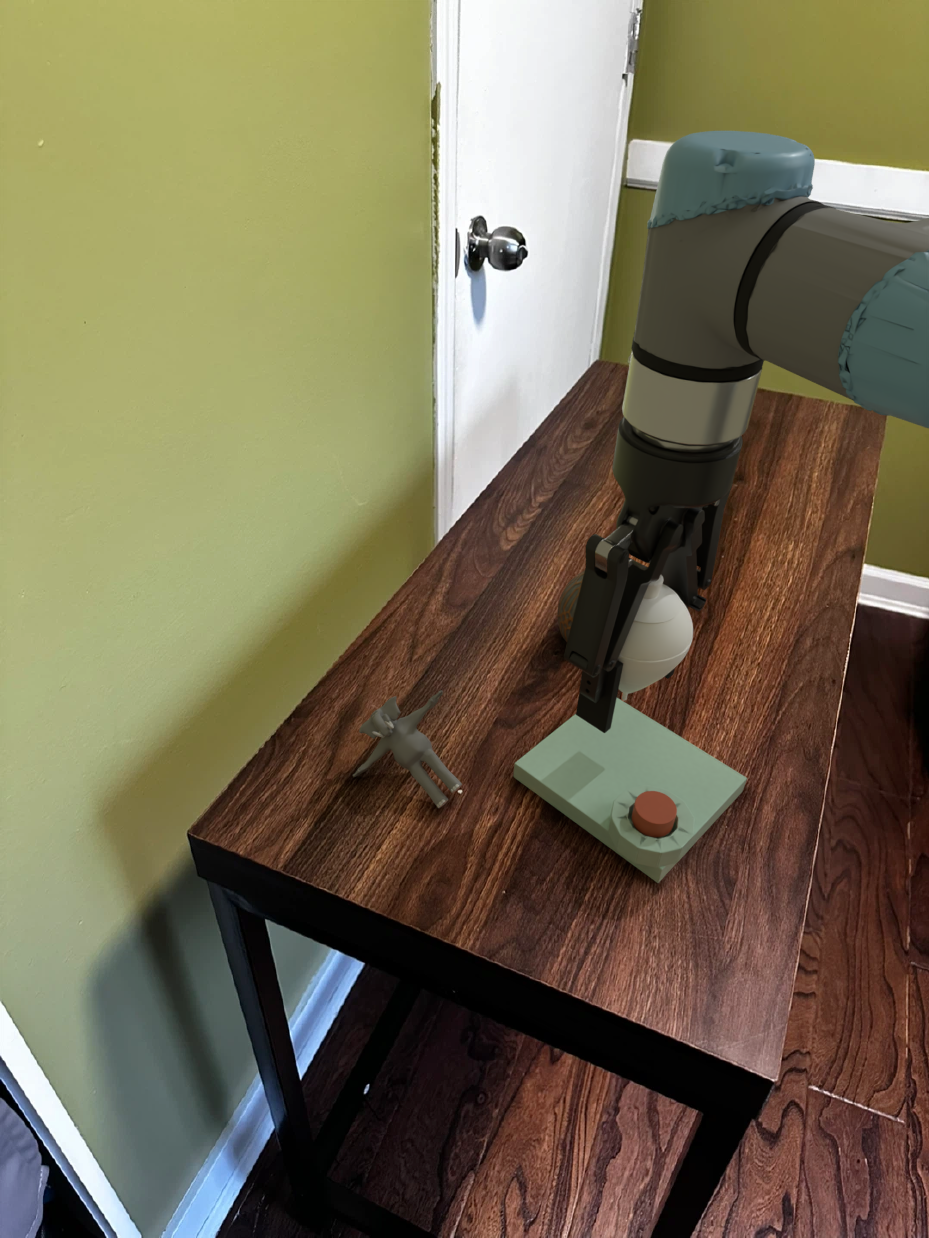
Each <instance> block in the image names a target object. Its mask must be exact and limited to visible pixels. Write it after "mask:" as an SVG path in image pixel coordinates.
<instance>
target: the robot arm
mask: <svg viewBox="0 0 929 1238" xmlns="http://www.w3.org/2000/svg"><path fill="white" fill-rule="evenodd" d="M815 162H816V160H815V154H814V153H813V151H812V149H811V148H810V147H809V146H808V145H807V144H804V143H801V142H798V141H796V140H795V139H792V138H789V137H786V136H781V135H777V134H771V133H764V132H756V131H742V130H708V131H699V132H693V133H689V134H687V135H686V134H685V135H684V136H682V137H680V138H678V139H677V140H675V141H674V142H673V143H672V144H671V145H670V147H669V148H668V149H667V151H666V152H665V155H664V158H663V161H662V164H661V169H660V174H659V178H658V183H657V187H656V191H655V195H654V200H653V205H652V208H651V213H650V218H649V219H648V220H647V225H646V229H647V237H646V246H645V253H644V262H643V270H642V278H641V286H640V292H639V299H638V305H637V313H636V319H635V326H634V332H633V337H632V342H631V347H630V349H631V353H630V355H629V356H628V360H627V363H628V365H629V367H628V372H627V377H626V384H625V389H624V395H623V401H622V406H621V410H622V411H621V412H622V415H623V417H622V418H621V420H620V421H619V422H618V428H617V433H616V439H615V440H616V441H615V447H614V454H613V460H612V464H611V465H612V466H611V467H612V474H613V477H614V479H615V481H616V482H617V484H618V485H619V488H620V489H621V491H622V493H623V496H624V501H623V504H622V506H621V509H620V511H619V514H618V516H617V519H616V523H615V530H613V532H611V533H610V534H609V535H608V536H606V537H603V536H601V535H599V534H597V533H594V534H592V535H590V537H589V538H588V539H587V541H586V544H585V568H584V570H585V572H584V576H583V580H582V584H581V588H580V592H579V596H578V600H577V604H576V608H575V612H574V616H573V621H572V625H571V629H570V633H569V637H568V641H567V642H566V644H565V649H564V653H563V660H564V661H566V662H567V663H569V664H570V665H572V666H574V667H576V668H577V669H579V670H581V674H580V675H581V676H580V681H579V688H578V690H579V692H578V698H577V704H576V710H575V714H576V715H577V716H579V717H580V718H582V719H583V720H585V721H586V722H588V723H589V724H591V725H592V726H594V727H595V728H597V729H598V730H600V731H601V732H603V733H606V732H607V731H608V730H609V729H610V728H611V724H612V719H613V714H614V709H615V704H616V699H617V698H618V693H619V684H620V679H621V674H622V669H623V664H624V663H622V662H620V661H619V660H618V658H619V655H620V653H621V650H622V648H623V646H624V643H625V641H626V638H627V636H628V634H629V631H630V629H631V626H632V624H633V621H634V619H635V617H636V614H637V612H638V609H639V607H640V605H641V602H642V600H643V597H644V595H645V593H646V590H647V588H648V585H649V584H650V583H651V582H655V581H657V580H658V579H659V577H660V575H662V576H663V579H664V581H663V584H664V585H666V586H668V587H669V588H671V589H672V590H673V591H675V592H676V593H677V595H678V596H679V598H680V599H681V600H682V602H683V603H684V604H685V606H686V608H687V609H688V610H689V608H691V609H692V610H694V611H696V612H698V613H699V612H701V611H702V610H703V608H704V607H705V605H706V603H707V598H706V597H704V596H702V595H700V594H699V591H698V590H699V589H700V590H703V591H706V590H707V589H708V588H709V587H710V586H711V584H712V580H713V575H714V570H715V563H716V558H717V552H718V547H719V541H720V535H721V530H722V523H723V519H724V512H725V508H726V505H727V501H728V499H729V496H730V493H731V491H732V488H733V485H734V477H735V475H736V471H737V467H738V463H739V459H740V455H741V452H742V448H743V443H744V441H743V440H744V439H743V437H742V435H744V434H745V433H746V431H747V430H748V428H749V424H750V420H751V417H752V412H753V409H754V406H755V405H754V404H755V400H756V396H757V392H758V389H759V384H760V381H761V375H762V372H763V366H764V362H768V363H770V364H772V365H775V366H777V367H778V368H780V369H783V370H785V371H788V372H789V373H792V374H793V375H797V376H798V377H801V378H803V379H805V380H807V381H809V382H812V383H814V384H816V385H818V386H821V387H822V388H824V389H827V390H829V391H831V392H833V393H836V394H838V395H840V396H842V397H844V398H847V399H849V400H850V401H853V402H854V404H857V405H859V406H860V407H861V408H862V409H865V410H866V411H869V412H871V411H873V412H874V413H876V414H878V415H880V416H885V417H886V416H887V417H893V418H896V419H899V420H902V421H905V422H908V423H911V424H913V425H916V426H920V427H922V428H925V429H929V217H927V218H922V219H918V220H914V221H910V222H895V221H894V222H893V221H887V220H883V219H879V218H875V217H870V216H867V215H862V214H857V213H854V212H849V211H845V210H841V209H837V208H835V207H833V206H830V205H826V204H824V203H822V202H820V201H818V200H814V199H811V198H809V197H810V196H811V195H812V191H813V189H814V185H813V177H814V170H815V164H816V163H815ZM630 556H631V557H633V558H635V559H637V560H639V561H641V562H643V563H645V564H648V566H647V565H645V564H642V563H640V562H638V561H637V560H635V559H633V558H631V557H630ZM698 568H700V569H698ZM675 670H676V667H675V668H674V669H673V670H672V671H671V672H669V673H668V674H667V675H666V676H664V677H663V678H665V679H667V680H669V679H671V677H673V675H675Z"/></svg>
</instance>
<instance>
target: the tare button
mask: <svg viewBox="0 0 929 1238" xmlns="http://www.w3.org/2000/svg"><path fill="white" fill-rule="evenodd" d="M676 814H677V808H676V805H675V803H674V802H673V800H672V799H671V798H670V797H668V796H667V795H665V794H663V793H661V792H657V791H647V792H644V793H641V794H640V795H639V796H638V797H637V798H636V800H635V804H634V808H633V812H632V822H633V825H634V826H635V828H636V829H637V830H638V831H639V832H641V833H642V834H644V835H646V836H649V837H663V836H665V835H667V834H668V833H669V832H670V831H671V830H672V828H673V825H674V821H675V818H676Z"/></svg>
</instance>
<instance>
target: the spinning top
mask: <svg viewBox="0 0 929 1238" xmlns="http://www.w3.org/2000/svg"><path fill="white" fill-rule="evenodd" d="M663 581H664V579H663V576H662V575H660V577H659V579H658V580H657V581H655V582H651V583H650V584H649V585H648V588H647V590H646V593H645V595H644V597H643V600H642V602H641V605H640V607H639V609H638V612H637V614H636V617H635V619H634V621H633V624H632V626H631V629H630V631H629V634H628V636H627V638H626V641H625V643H624V646H623V648H622V650H621V653H620V655H619V658H618V660H619V661H620V662H622V663H624V664H623V669H622V674H621V679H620V684H619V689H618V691H620V692H621V693H622V694H621V695H622V696H621V700H622V701H623V702H626V701H627V700H628V695H629V694H633V693H636V692H639V691H641V690H643V689H646V688H647V687H649V686H651V685H653V684H655V683H656V682H659V681H661V680H662V679H663V678H665V677H664V676H666V675H667V674H668V673H669V672H671V671H672V670H673V669H674V668H675V669H676V667H678V665H679V664H680V663H682V661H683V660H684V659H685V657H686V656H687V654H688V652H689V651H690V647H691V645H692V643H693V638H694V624H693V620H692V617H691V616H692V615H691V614H690V611H689V608H688V609H687V608H686V606H685V604H684V603H683V602H682V600H681V599H680V598H679V596H678V595H677V593H676V592H675V591H673V590H672V589H671V588H669V587H668V586H666V585H664V584H663Z"/></svg>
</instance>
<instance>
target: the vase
mask: <svg viewBox="0 0 929 1238" xmlns="http://www.w3.org/2000/svg"><path fill="white" fill-rule="evenodd" d="M584 572H585V569H584V570H582V571H580V573H578V574H577V575H575V576H574V577H573V578H572V579H570V581H568V583H567V584H566V585H565V587H564V589H563V591H562V592H561V595H560V597H559V599H558V605H557V611H556V612H557V614H556V615H557V616H556V619H557V626H558V630H559V632H560V634H561V636H562V638H563V639H564V641H565V642H566V643H567V641H568V637H569V633H570V629H571V625H572V621H573V616H574V612H575V608H576V604H577V600H578V596H579V592H580V588H581V584H582V580H583V576H584Z"/></svg>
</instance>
